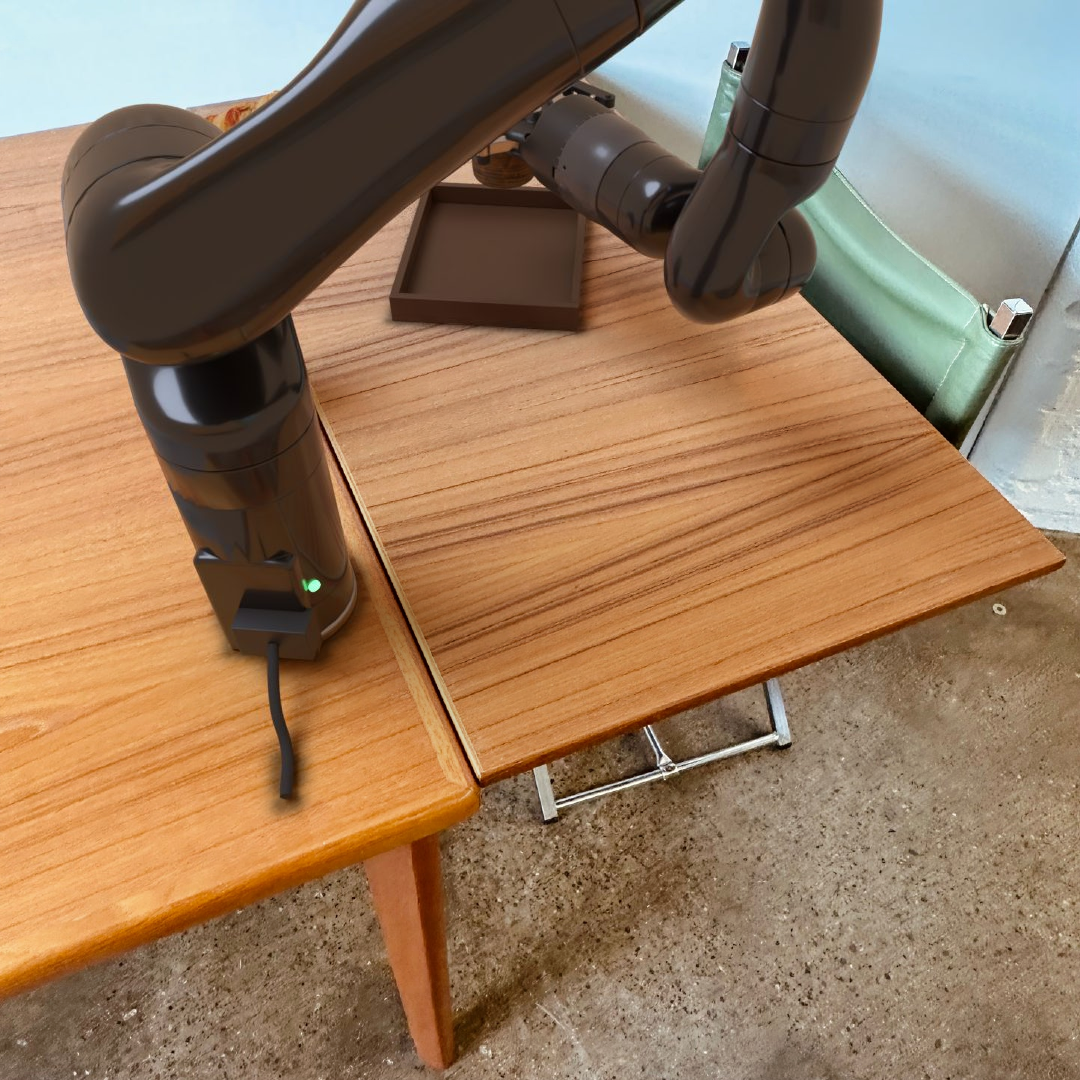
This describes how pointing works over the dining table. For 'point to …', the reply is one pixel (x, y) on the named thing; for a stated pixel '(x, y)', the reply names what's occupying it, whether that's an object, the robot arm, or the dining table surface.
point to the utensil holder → (503, 172)
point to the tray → (491, 259)
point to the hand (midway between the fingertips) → (486, 86)
